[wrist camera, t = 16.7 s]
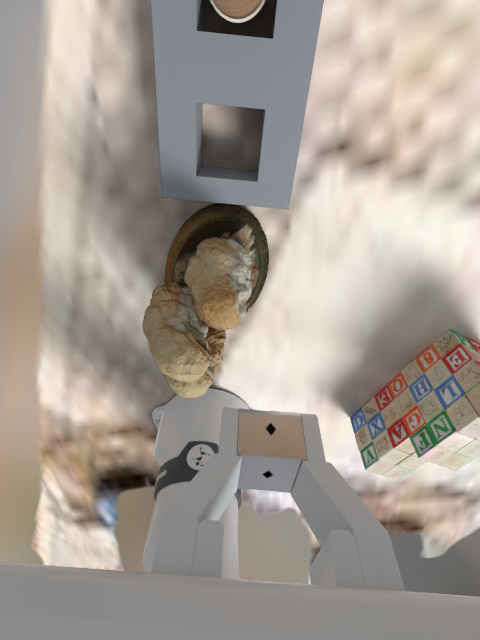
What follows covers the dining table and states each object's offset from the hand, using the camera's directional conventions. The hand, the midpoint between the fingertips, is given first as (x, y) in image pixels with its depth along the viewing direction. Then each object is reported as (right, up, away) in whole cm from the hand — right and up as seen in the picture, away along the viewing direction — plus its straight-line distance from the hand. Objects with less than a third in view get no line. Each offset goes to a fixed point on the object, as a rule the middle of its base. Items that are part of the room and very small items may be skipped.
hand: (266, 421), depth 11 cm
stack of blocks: (+25, -6, +40) cm, 48 cm away
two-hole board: (-1, +25, +18) cm, 31 cm away
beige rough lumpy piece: (-4, +9, +30) cm, 32 cm away
